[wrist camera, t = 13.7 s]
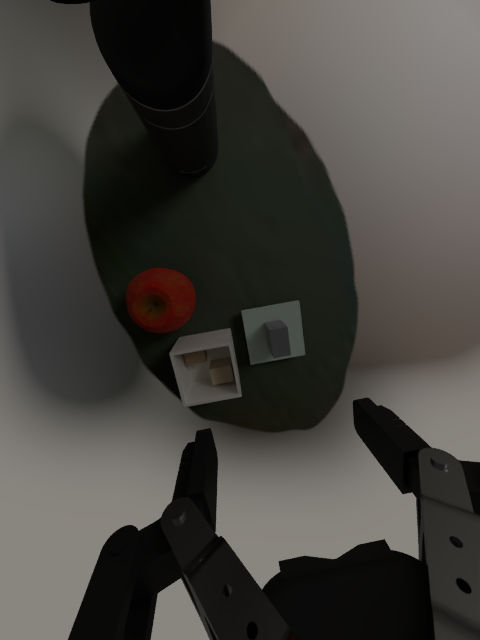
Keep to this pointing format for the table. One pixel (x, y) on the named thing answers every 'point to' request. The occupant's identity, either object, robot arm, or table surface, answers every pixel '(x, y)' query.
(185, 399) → the storage box
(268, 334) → the lid
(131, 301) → the apple
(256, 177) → the table surface
